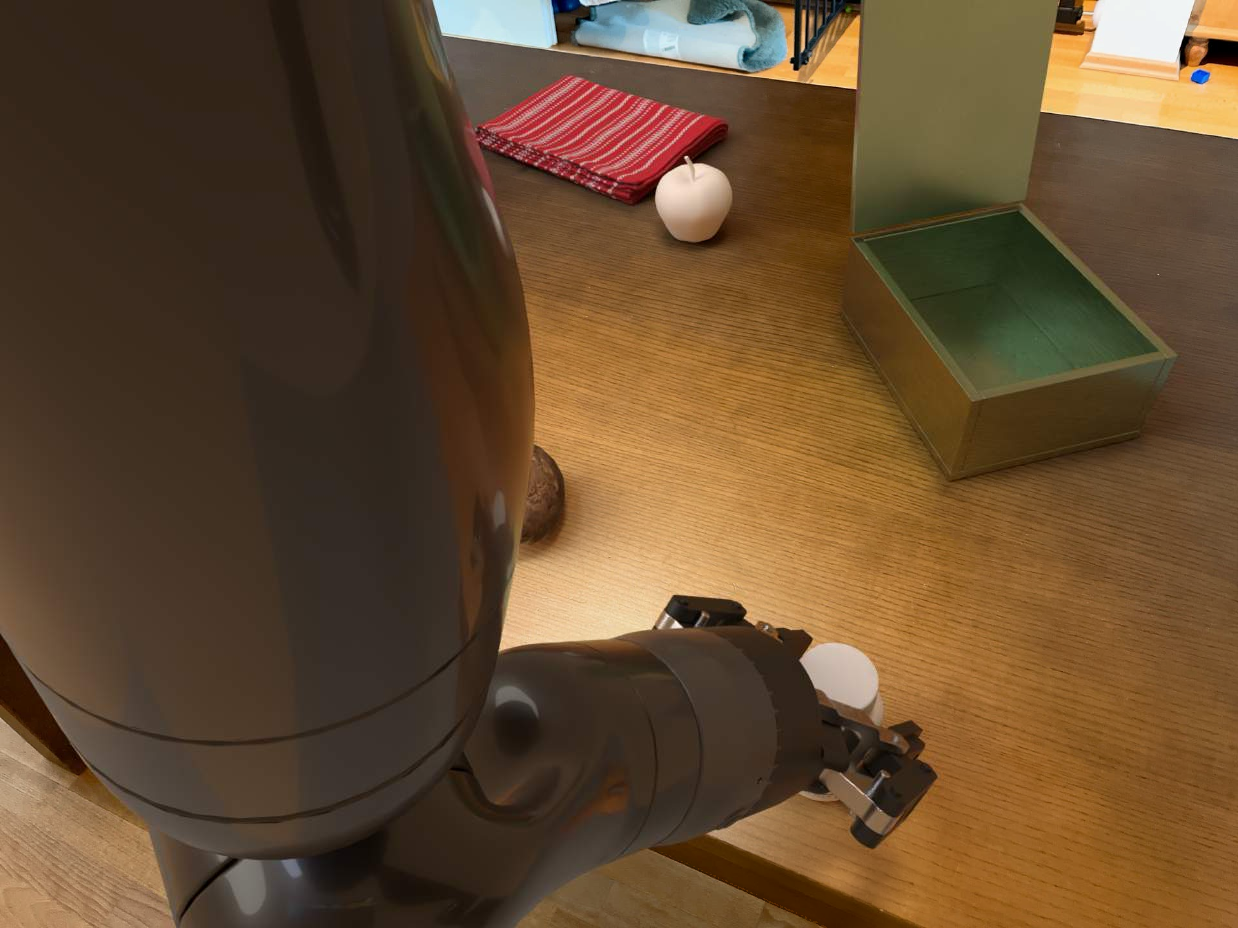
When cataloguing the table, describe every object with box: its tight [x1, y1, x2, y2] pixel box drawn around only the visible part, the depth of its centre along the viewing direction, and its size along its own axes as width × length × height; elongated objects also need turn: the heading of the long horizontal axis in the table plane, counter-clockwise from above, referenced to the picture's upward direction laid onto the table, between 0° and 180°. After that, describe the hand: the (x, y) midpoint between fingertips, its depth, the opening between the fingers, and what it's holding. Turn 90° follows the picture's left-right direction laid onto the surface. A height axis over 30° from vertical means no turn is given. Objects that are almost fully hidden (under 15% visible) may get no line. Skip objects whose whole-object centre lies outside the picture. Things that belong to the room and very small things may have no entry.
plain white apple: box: [654, 156, 733, 243], centre depth 85 cm, size 7×7×8 cm
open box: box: [839, 202, 1179, 482], centre depth 69 cm, size 20×15×8 cm
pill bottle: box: [798, 642, 885, 802], centre depth 48 cm, size 5×5×9 cm
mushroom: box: [520, 443, 566, 546], centre depth 63 cm, size 8×8×6 cm
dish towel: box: [474, 74, 730, 205], centre depth 100 cm, size 17×24×3 cm
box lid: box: [849, 0, 1060, 234], centre depth 68 cm, size 20×15×4 cm
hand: (850, 692), depth 48 cm, fingers open, 6 cm apart
